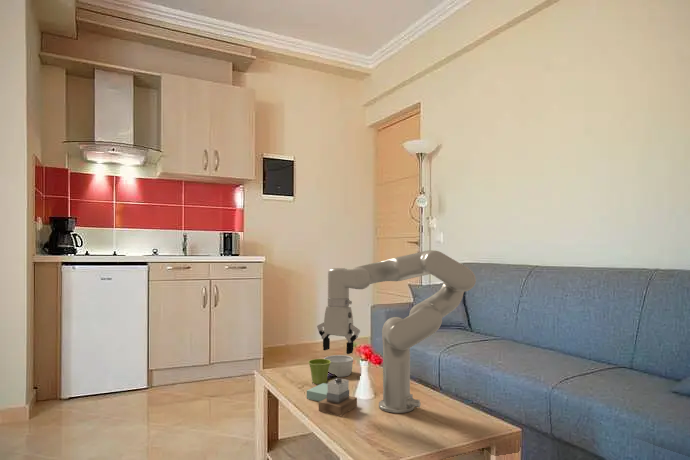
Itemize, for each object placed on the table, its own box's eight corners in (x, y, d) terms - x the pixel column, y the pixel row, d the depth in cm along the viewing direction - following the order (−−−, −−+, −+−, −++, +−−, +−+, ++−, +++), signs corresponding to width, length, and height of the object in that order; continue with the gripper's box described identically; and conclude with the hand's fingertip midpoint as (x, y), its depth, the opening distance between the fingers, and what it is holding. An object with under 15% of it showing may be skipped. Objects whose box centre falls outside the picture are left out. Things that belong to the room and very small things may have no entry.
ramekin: (319, 376, 202) (319, 360, 202) (329, 368, 214) (329, 353, 214) (348, 379, 198) (348, 363, 198) (356, 371, 210) (357, 356, 210)
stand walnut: (356, 406, 165) (356, 397, 165) (340, 415, 155) (340, 406, 155) (335, 401, 169) (335, 393, 169) (318, 410, 160) (318, 402, 160)
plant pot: (330, 385, 188) (330, 364, 189) (307, 385, 189) (307, 364, 189) (331, 379, 198) (331, 358, 198) (309, 379, 198) (309, 358, 198)
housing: (349, 398, 164) (349, 377, 164) (338, 404, 158) (338, 382, 158) (337, 395, 167) (337, 375, 167) (326, 401, 161) (326, 380, 161)
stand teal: (342, 394, 177) (342, 386, 177) (326, 403, 168) (326, 394, 168) (323, 390, 182) (323, 383, 182) (306, 398, 173) (306, 390, 173)
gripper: (364, 303, 162) (364, 352, 162) (323, 300, 171) (323, 346, 171) (354, 306, 156) (353, 357, 155) (312, 302, 165) (311, 350, 164)
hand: (337, 351), depth 163 cm, fingers open, 9 cm apart
